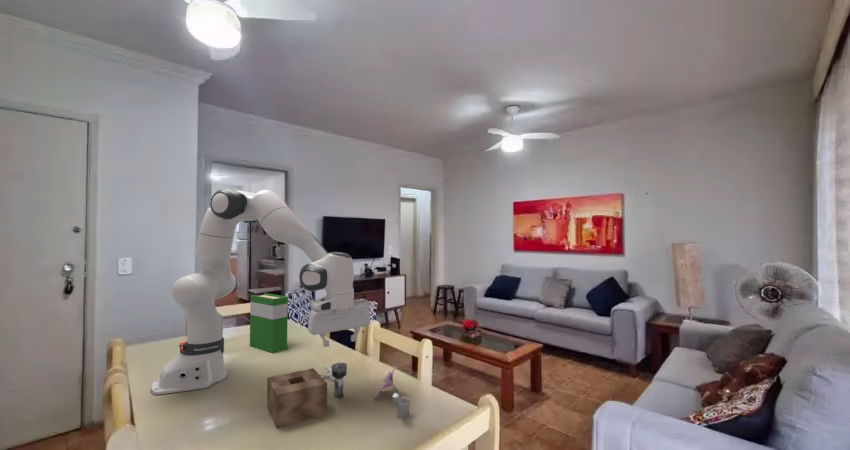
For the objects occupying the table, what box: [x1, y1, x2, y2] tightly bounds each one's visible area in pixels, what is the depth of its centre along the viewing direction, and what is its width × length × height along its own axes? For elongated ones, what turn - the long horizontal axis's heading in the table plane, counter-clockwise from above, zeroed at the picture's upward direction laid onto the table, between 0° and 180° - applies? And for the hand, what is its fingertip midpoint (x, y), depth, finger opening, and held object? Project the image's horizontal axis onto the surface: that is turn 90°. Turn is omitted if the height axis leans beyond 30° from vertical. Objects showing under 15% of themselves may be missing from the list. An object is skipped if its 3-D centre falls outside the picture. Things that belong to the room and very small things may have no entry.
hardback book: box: [249, 292, 289, 355], centre depth 164 cm, size 18×7×24 cm, turn 57°
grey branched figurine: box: [318, 365, 334, 383], centre depth 133 cm, size 10×2×15 cm
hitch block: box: [266, 367, 328, 429], centre depth 106 cm, size 14×14×9 cm
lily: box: [373, 365, 401, 400], centre depth 117 cm, size 12×12×10 cm
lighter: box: [391, 392, 410, 421], centre depth 102 cm, size 7×2×8 cm, turn 154°
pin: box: [331, 362, 348, 399], centre depth 116 cm, size 5×5×10 cm
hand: (340, 343), depth 116 cm, fingers open, 8 cm apart
